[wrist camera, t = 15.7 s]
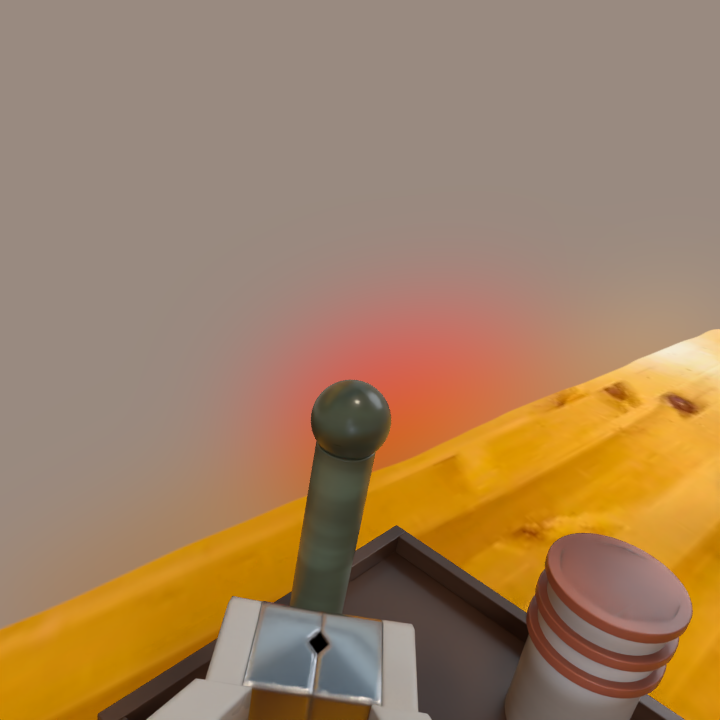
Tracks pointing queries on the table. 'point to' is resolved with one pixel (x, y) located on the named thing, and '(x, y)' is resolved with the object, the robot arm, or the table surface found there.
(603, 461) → the table surface
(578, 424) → the table surface
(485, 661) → the tray
